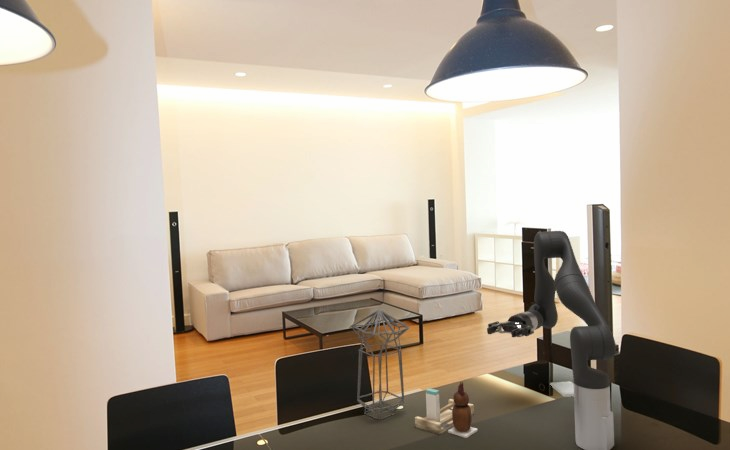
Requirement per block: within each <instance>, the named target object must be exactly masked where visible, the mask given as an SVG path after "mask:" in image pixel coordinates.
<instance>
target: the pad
mask: <svg viewBox="0 0 730 450" xmlns="http://www.w3.org/2000/svg"><path fill="white" fill-rule="evenodd" d="M477 432H478V428H476V427H472V426H470V429H469V430H468V431H465V432H461V431H458V430H456V429H455V427H454V426H453V427H451V428H449V429H448V430H447V433H449V434H452V435H455V436H459V437H461V438H464V439H467V438H469V437H470V436H471V435H473V434H475V433H477Z"/></svg>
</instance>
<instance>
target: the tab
mask: <svg viewBox="0 0 730 450" xmlns="http://www.w3.org/2000/svg"><path fill="white" fill-rule="evenodd" d="M425 403H426V404H425V405H426V406H425V407H426V416H427V419H429V420H432V421H436V422H440V409H441V407H440V405H441V404H440V390H438V389H435V388H427V389H425Z"/></svg>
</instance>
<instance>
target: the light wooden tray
mask: <svg viewBox="0 0 730 450" xmlns="http://www.w3.org/2000/svg"><path fill="white" fill-rule="evenodd" d="M447 403H448V404H446V405H445V406H443V407H440V422H436V421H432V420H429V419H427V415H426V416H424V417H421V416H419V415H418V416H415V417H414V425H415V428H418V429H420V430H423V431H425V432H428V433H429V432H430V433H432V434H436V435H441V434H443V433H445V432H446V431H448V430H450V429H451V428H453V427H454V424H453V419H452V410H453V407H454V405H455V403H454V400H453V398H449V399H448V400H447ZM468 405H469V407H470V409H471V414H472V415H474V414H475V408H474V407H475V404H473V403H468Z"/></svg>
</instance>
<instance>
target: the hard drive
mask: <svg viewBox="0 0 730 450" xmlns="http://www.w3.org/2000/svg"><path fill="white" fill-rule="evenodd" d="M550 385H551V386H552V387H551V386H550ZM549 386H550V387H551V388H553V389H554V390H555V391H556V392H557V393H559V395H561V396H562V397H564V398H567V397H568V398H570V397H571V396H572V397H574V382H572V381H556V382H554V381H552V382H550V383H549ZM572 397H571V398H572Z"/></svg>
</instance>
